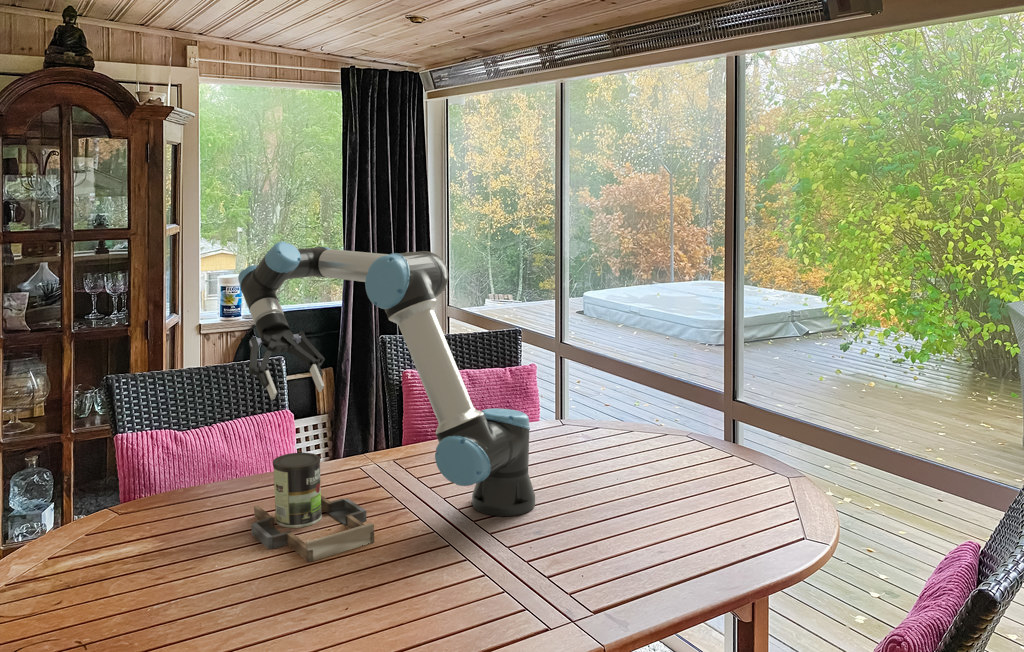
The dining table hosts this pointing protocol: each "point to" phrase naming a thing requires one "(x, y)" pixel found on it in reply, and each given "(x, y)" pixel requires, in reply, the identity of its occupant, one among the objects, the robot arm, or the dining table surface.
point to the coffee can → (297, 489)
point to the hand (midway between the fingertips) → (298, 392)
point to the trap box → (322, 546)
